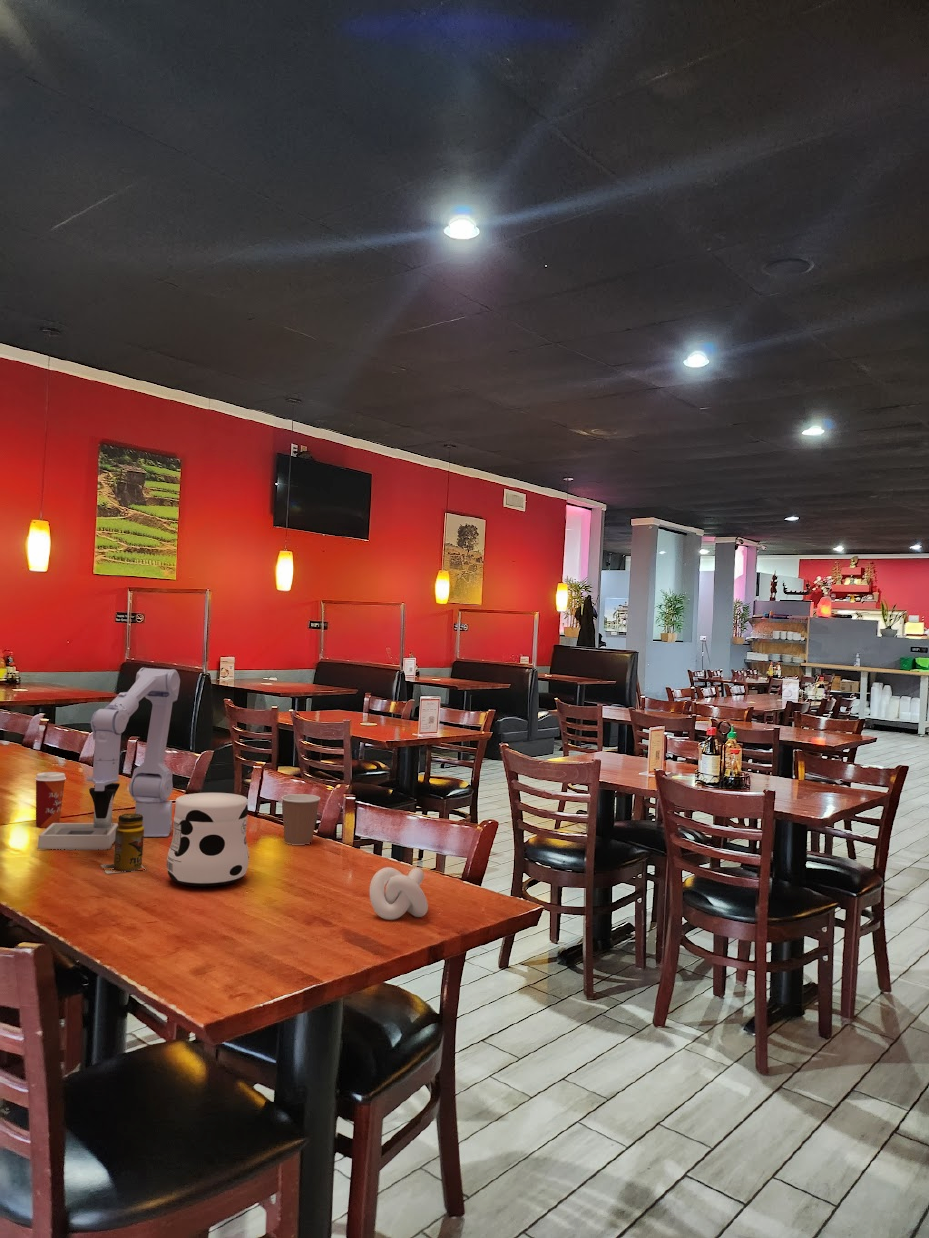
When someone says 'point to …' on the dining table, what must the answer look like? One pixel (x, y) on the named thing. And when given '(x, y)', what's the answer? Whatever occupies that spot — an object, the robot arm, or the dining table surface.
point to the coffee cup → (299, 817)
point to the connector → (101, 821)
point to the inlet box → (77, 837)
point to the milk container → (209, 839)
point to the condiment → (128, 844)
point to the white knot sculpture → (398, 893)
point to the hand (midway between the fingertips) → (102, 816)
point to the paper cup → (49, 798)
